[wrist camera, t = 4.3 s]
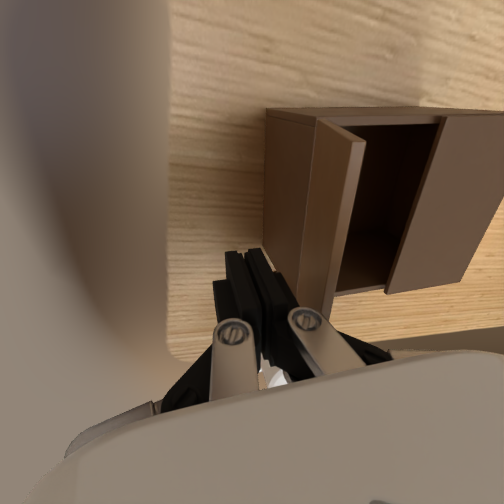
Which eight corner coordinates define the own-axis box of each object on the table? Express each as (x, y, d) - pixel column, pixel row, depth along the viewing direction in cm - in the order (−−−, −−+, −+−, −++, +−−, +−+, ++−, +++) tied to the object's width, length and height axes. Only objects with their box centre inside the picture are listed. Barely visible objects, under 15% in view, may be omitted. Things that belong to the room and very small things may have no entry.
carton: (262, 245, 28) (298, 311, 20) (265, 108, 22) (323, 117, 13) (383, 230, 31) (460, 282, 23) (419, 106, 25) (547, 113, 16)
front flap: (300, 309, 20) (295, 309, 20) (325, 118, 13) (317, 118, 13) (310, 409, 14) (302, 408, 14) (367, 141, 7) (351, 140, 7)
